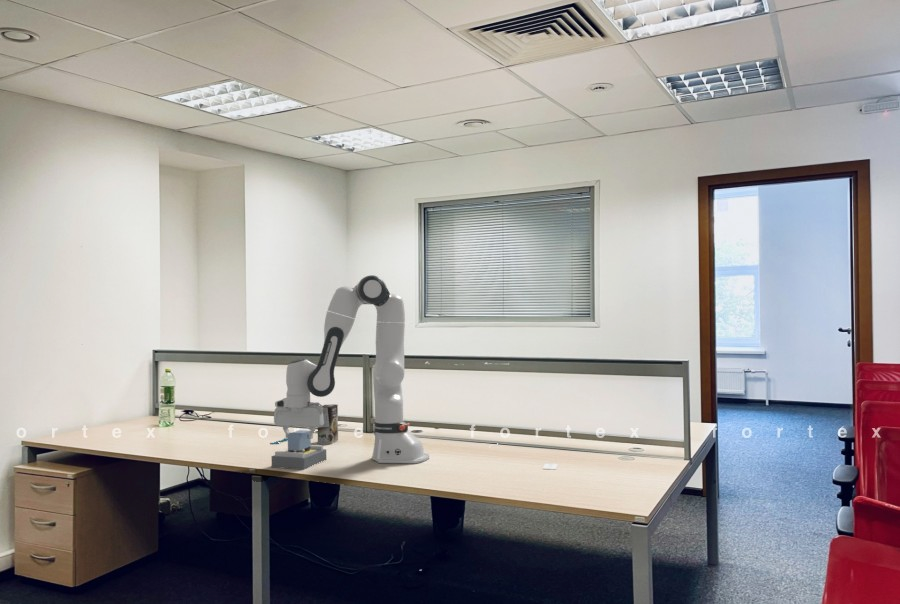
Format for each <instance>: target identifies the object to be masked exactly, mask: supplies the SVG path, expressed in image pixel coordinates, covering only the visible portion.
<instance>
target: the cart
mask: <svg viewBox="0 0 900 604" xmlns="http://www.w3.org/2000/svg"><path fill="white" fill-rule="evenodd" d="M310 431H311V430H296V431H293V432H290V433H289V434H288V441H287V451H288V452H294V450H296V452H299V453H302V452H303V449H305V451H309V450H310V448H311V447H310V446H311V445H312V444H311V442H312V439H307V434H309V433H310Z"/></svg>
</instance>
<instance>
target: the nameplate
mask: <svg viewBox="0 0 900 604" xmlns="http://www.w3.org/2000/svg"><path fill="white" fill-rule="evenodd" d="M287 440H288V438H286V437H284V438H283V439H281V440H278V441H274V442H270V443H269V445H280V444H279V443H278V442H282V443H284V442H288V441H287Z"/></svg>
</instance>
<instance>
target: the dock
mask: <svg viewBox="0 0 900 604" xmlns="http://www.w3.org/2000/svg"><path fill="white" fill-rule="evenodd" d="M310 447H311V448H310V450H309V451H305V449H303V452H302V453H299V452H296V450H294V452H288V450H285V451H280V450H279V451H278V450H277V451H274V455H271V468H277V467H284V468H283V469H291V468H294V469H295V470H306V469H308V467H309V468H311V467H313V466H315V465H314V464H316V465H318V464H320V463H322V462H324V460H325V461H327V449H324V445H321V444H317V445H316V444H311V446H310ZM321 461H322V462H321ZM319 462H320V463H319ZM317 463H318V464H317ZM312 465H313V466H312ZM310 466H311V467H310Z"/></svg>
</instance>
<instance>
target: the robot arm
mask: <svg viewBox="0 0 900 604" xmlns="http://www.w3.org/2000/svg"><path fill="white" fill-rule="evenodd" d="M362 305H373V306H374V307H375V310H376V325H375V326H376V328H375V363H374V365H373V367H372V378H373V379H372V381H373V382H372V383H373V397H374V423H373V434H374V443H373V444H374V445H373V451H372V455H371V459H372V460H373V461H375V462H376V463H378V464H419V463H423V462H425V461H427V460H428V459H430V454H429V453H427V452H425V450H424V445H423V442H422V441H421V440H420V439H419V438H418V437H416V436H415V435H414V434H413V433H412V432H411V431H409V428H408V427H409V426H410V422H408V423H407V422H405V420H404V399H403V389H402V382H403V380H404V378H405V327H406V326H405V325H406V324H405V323H406V322H405V321H406V316H405V315H406V314H405V303H404V300H403V298H402V297H401V296H400V295H397V294H394V293H390V291H389V288H388V287H387V285H386V283H385V281H384V279H382V278H381V277H380V276H377V275H374V274H373V275H366V276H364V277H362V278H361V279H360V280H359V281H358V282H357V284H356V285H355V286H354V287H350V286H340V287H337V289H336V290H335V292H334V294H333V296H332V298H331V300H330V302H329V305H328V308H327V311H326V314H325V320H324V324H323V333H324V335H323V336H324V340H323V346H322V349H321V353H320V355H319V359H318V360H319V361H318V362H317V364H315V363H313V362H311V361H310V360H308V359H307V358H301V359H295V360H293V361H290V362H289V363H288V364H287V366H286V372H285V373H286V374H285V375H286V376H285V380H286V381H285V383H286V387H287V388H286V389H287V390H286V397H285V398H282V399H279V400H276V401H275V402H274V407H275V408H274V412H273V423H274V425H275V426H276V427H278V426H279V427H282V430H283V431H284V434H285V438H288V434H289V433H291V432H290V430H289V428H290V427H294V428H295V427H297V428H298V427H301V428H309V430H308V431H310V433H309V434H307V439H311V440H313V438H314V434H315V433H314V431H315V430H316V428H317V429H318V427H321V426H323V424H324V417H323V405H322V404H321V403H320V402H313V401H311V394H312V395H313V396H314V397H317V398H320V397H322V398H323V397H327V396H329V395H330V394H331V393H332V392H333V390H334V389H335V386H336V381H335V367H336V365H337V364H336V363H337V361H338V357H339V354H340V350H341V348H342V346H343V344H344V342H345V341H346V339H347V338H348V336H349V334H350V332H351V330H352V329H353V328H352V327H353V326H354V324H355V323H354V322H355V320H356V316H357V312H358V311H359V308H360V307H361V306H362Z"/></svg>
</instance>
